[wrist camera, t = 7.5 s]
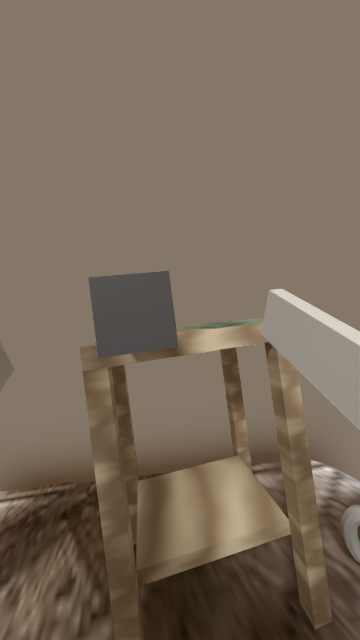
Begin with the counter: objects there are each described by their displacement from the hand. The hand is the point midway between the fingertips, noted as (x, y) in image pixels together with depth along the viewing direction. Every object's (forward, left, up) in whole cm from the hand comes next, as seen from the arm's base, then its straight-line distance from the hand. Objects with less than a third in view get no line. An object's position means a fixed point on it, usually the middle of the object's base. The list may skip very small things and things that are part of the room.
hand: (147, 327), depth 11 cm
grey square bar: (-1, +10, -1) cm, 11 cm away
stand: (+4, +16, -31) cm, 35 cm away
